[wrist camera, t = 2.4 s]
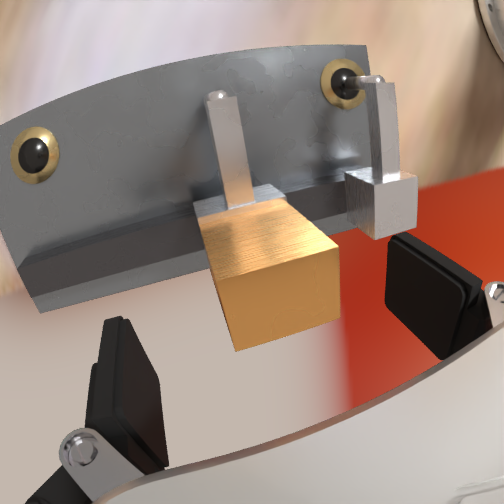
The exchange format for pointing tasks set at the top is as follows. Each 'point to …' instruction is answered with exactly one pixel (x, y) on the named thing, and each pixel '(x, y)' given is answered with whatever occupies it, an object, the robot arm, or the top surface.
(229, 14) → the top surface
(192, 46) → the top surface
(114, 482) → the robot arm
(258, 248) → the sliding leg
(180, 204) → the base
